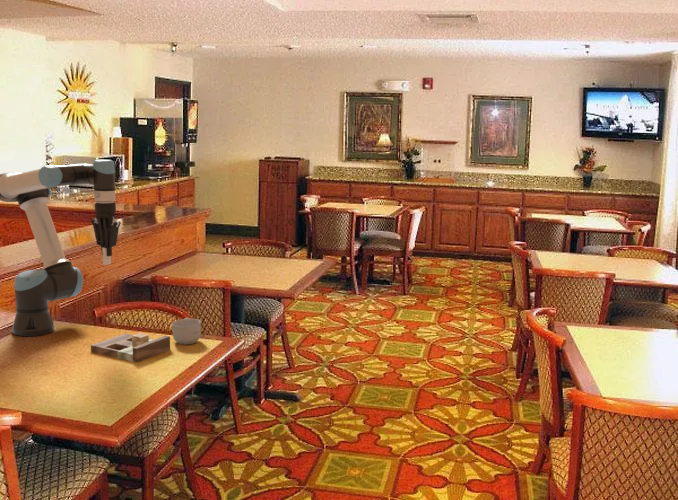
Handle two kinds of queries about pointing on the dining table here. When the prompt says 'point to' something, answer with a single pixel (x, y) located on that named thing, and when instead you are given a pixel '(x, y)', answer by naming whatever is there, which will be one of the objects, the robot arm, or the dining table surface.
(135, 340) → the block
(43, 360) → the dining table surface
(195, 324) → the teacup
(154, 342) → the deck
